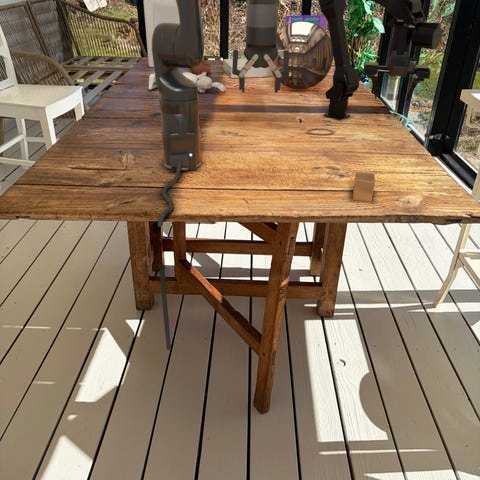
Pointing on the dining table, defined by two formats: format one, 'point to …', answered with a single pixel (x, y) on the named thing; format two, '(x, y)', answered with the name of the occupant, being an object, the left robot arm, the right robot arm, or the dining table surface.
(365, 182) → the brick
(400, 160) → the dining table surface
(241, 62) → the disc drive
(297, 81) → the sphere
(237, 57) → the left robot arm
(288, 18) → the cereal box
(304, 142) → the dining table surface
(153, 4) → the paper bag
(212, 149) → the dining table surface
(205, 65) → the anatomical model
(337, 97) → the right robot arm
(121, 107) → the dining table surface
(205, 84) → the toy
